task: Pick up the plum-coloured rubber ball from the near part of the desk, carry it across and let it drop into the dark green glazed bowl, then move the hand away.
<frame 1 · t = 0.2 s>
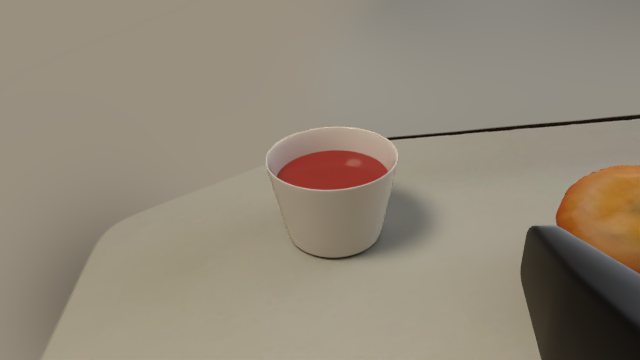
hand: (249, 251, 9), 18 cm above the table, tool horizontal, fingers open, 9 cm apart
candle: (335, 232, 39), on the table
fruit: (614, 275, 33), on the table
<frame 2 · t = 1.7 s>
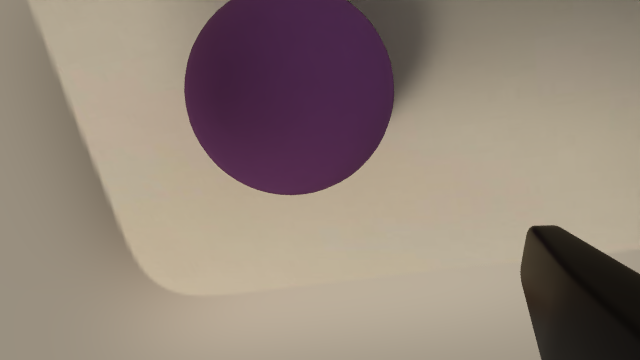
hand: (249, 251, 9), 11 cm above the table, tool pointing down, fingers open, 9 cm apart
ball: (290, 92, 15), point 3 cm above the table
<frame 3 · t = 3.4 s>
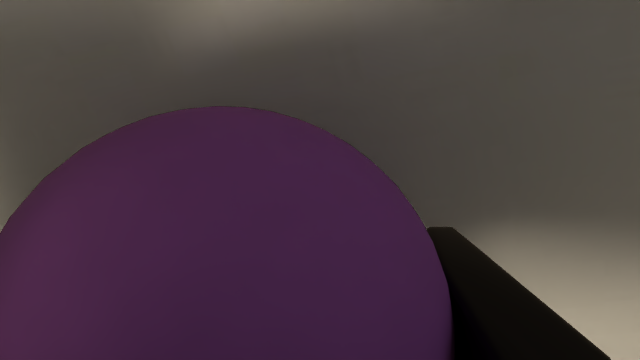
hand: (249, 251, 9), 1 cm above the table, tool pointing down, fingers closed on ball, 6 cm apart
ball: (226, 329, 7), point 3 cm above the table, touching gripper
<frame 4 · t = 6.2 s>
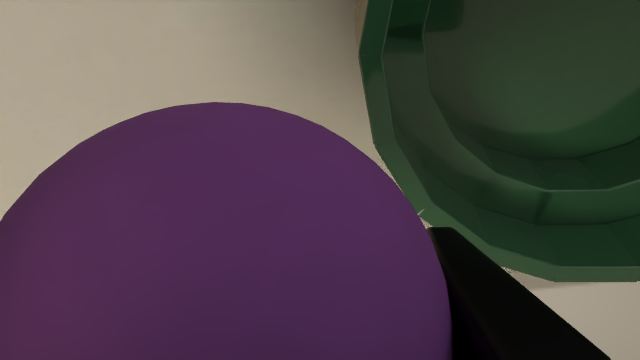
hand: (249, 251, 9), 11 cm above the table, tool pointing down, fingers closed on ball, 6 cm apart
ball: (224, 326, 7), point 13 cm above the table, touching gripper
bowl: (572, 6, 17), on the table
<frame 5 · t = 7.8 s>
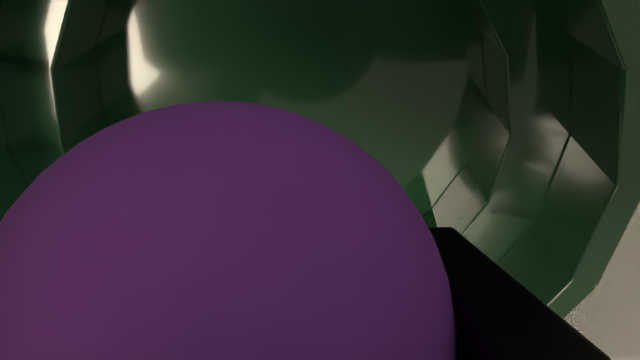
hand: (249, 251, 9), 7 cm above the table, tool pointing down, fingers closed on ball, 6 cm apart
ball: (225, 326, 7), point 9 cm above the table, touching gripper
bowl: (292, 94, 15), on the table
when the fingers open (4 cm above the table, at t = 9.3 s): ball drops 2 cm, resting on bowl.
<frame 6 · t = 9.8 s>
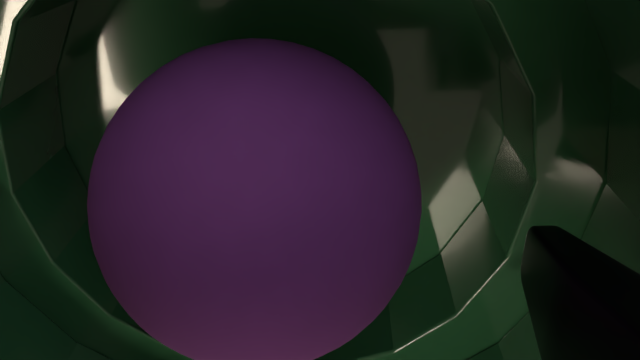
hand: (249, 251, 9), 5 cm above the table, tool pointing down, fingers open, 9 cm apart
ball: (260, 202, 10), point 4 cm above the table, touching bowl
bowl: (282, 126, 13), on the table
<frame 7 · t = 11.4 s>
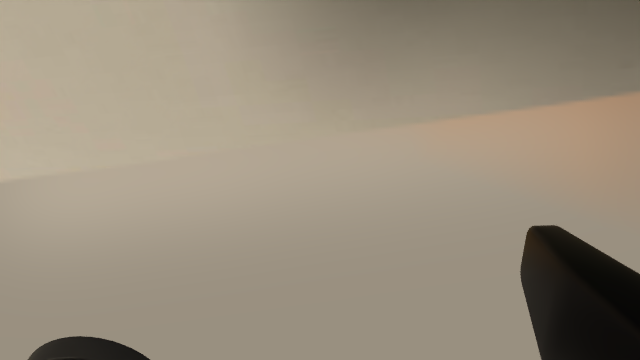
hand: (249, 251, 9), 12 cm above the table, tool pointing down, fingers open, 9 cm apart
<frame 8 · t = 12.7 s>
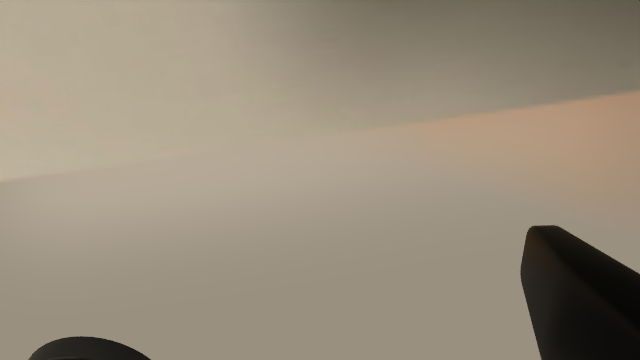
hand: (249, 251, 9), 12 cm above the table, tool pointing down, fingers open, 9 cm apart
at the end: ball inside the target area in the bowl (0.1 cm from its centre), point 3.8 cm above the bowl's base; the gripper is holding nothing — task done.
